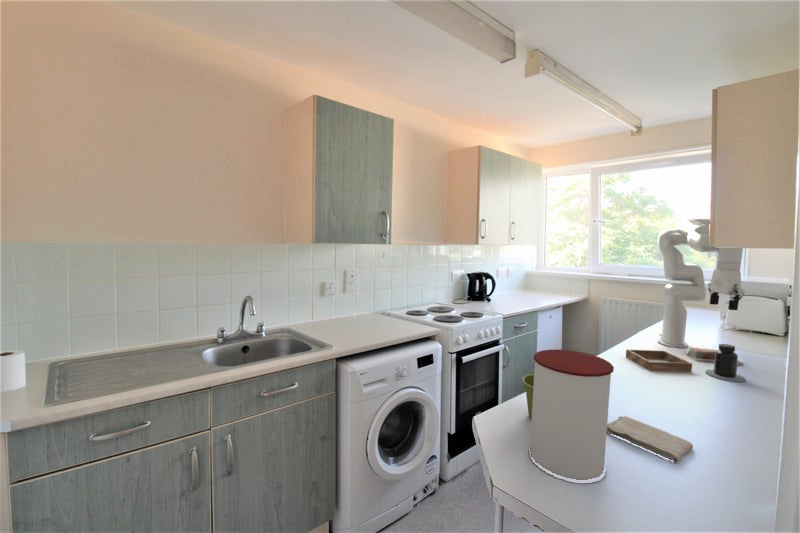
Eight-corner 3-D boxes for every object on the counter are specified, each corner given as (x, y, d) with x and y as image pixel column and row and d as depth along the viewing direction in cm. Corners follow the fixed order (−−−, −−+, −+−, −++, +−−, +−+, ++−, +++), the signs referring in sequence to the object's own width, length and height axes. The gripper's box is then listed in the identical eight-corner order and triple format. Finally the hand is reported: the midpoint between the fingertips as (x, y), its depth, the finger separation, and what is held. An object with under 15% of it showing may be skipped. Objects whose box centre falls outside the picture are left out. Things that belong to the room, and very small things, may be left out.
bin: (625, 356, 170) (626, 349, 169) (663, 358, 169) (664, 350, 169) (648, 370, 153) (649, 362, 152) (691, 372, 152) (692, 363, 152)
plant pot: (512, 413, 114) (513, 377, 112) (539, 405, 119) (541, 371, 118) (542, 432, 103) (545, 393, 102) (571, 422, 108) (574, 385, 107)
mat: (698, 370, 154) (698, 369, 154) (727, 371, 154) (728, 370, 154) (721, 381, 142) (721, 380, 142) (754, 382, 142) (754, 381, 142)
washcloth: (620, 421, 111) (621, 412, 110) (694, 451, 96) (695, 439, 96) (601, 433, 104) (602, 423, 103) (677, 467, 89) (679, 455, 89)
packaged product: (697, 351, 165) (685, 345, 175) (696, 362, 165) (684, 355, 175) (745, 355, 161) (730, 348, 171) (743, 366, 162) (729, 359, 171)
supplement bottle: (729, 372, 151) (732, 343, 150) (740, 378, 144) (743, 348, 143) (709, 370, 153) (712, 342, 151) (719, 376, 146) (722, 347, 145)
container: (614, 459, 91) (621, 360, 89) (594, 495, 78) (603, 381, 76) (543, 433, 102) (548, 345, 100) (516, 461, 89) (521, 360, 87)
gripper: (702, 263, 161) (698, 302, 163) (736, 268, 144) (730, 311, 146) (720, 263, 160) (716, 302, 163) (756, 269, 143) (750, 312, 145)
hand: (723, 307), depth 154 cm, fingers open, 9 cm apart
